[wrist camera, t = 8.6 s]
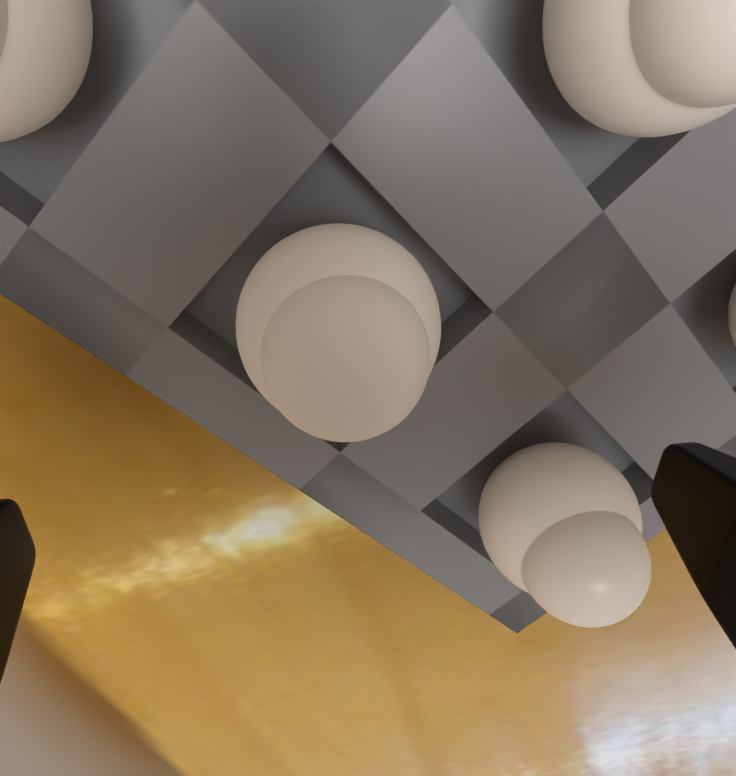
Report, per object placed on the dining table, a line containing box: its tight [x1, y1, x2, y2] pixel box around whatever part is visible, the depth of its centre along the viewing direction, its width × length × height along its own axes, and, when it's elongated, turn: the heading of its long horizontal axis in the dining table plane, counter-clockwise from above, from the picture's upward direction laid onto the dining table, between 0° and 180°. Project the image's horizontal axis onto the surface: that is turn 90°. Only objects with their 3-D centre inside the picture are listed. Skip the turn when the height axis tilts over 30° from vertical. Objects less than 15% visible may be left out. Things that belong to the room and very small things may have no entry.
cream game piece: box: [236, 223, 441, 442], centre depth 12 cm, size 5×5×6 cm
